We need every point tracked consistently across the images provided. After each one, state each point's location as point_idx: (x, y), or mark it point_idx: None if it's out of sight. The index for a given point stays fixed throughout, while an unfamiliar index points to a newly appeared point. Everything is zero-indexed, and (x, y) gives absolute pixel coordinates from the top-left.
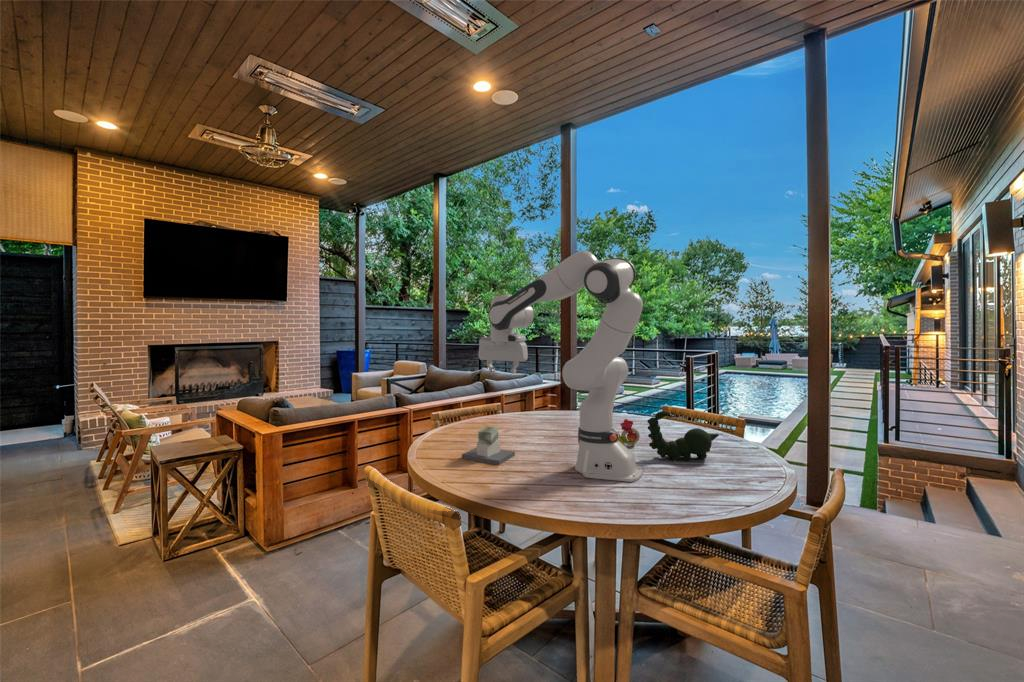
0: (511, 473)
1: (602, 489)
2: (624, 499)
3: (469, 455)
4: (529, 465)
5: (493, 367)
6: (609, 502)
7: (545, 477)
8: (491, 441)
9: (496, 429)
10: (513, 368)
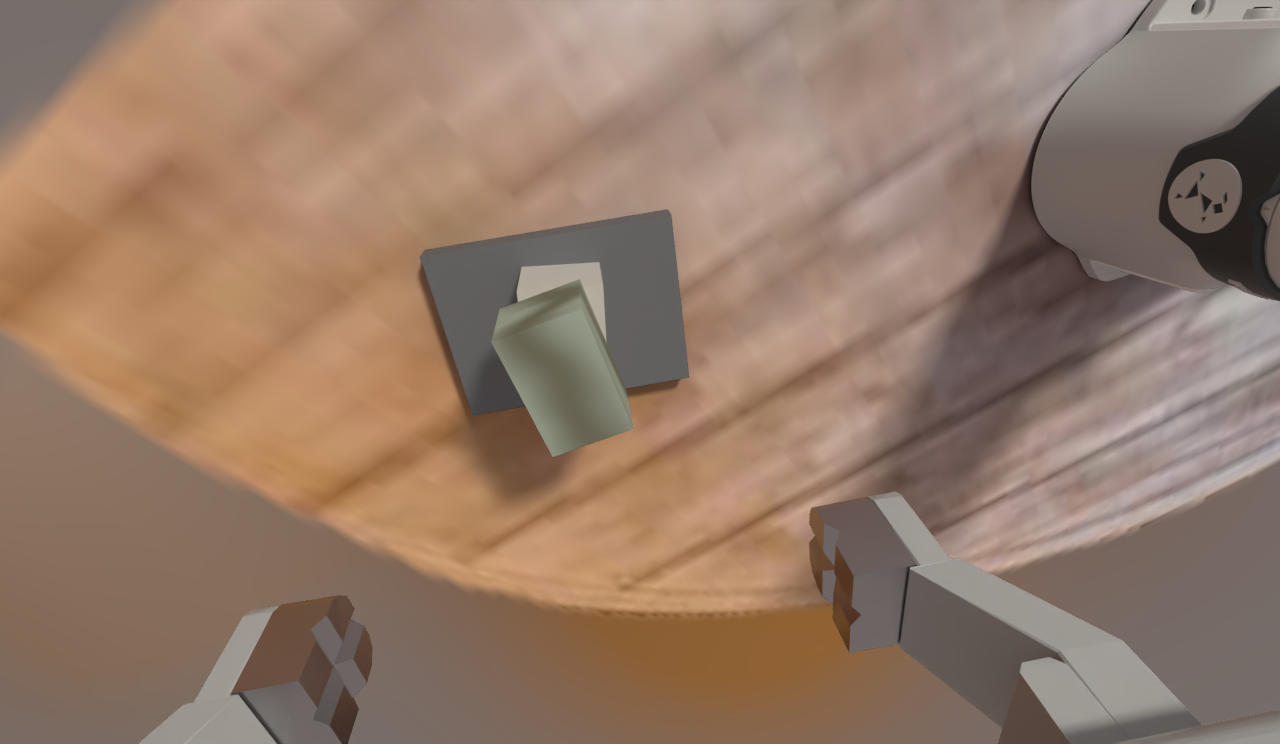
0: (789, 409)
1: (1160, 340)
2: (1232, 369)
3: (515, 403)
4: (813, 291)
5: (316, 714)
6: (1181, 413)
7: (932, 365)
8: (626, 394)
9: (595, 338)
10: (930, 647)
